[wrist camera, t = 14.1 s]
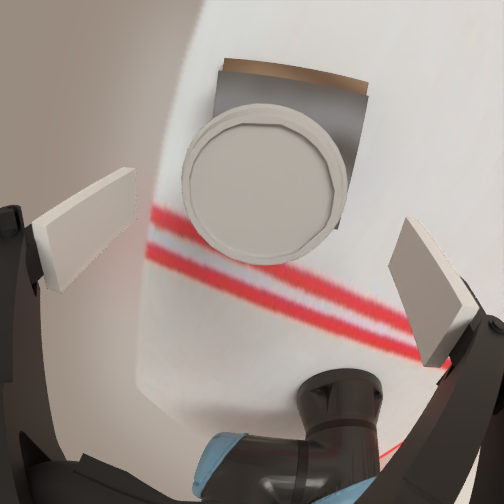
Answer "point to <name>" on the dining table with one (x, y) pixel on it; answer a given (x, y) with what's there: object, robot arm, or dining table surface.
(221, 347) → the dining table surface
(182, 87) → the dining table surface
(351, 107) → the grey block on wood
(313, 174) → the disposable coffee cup
